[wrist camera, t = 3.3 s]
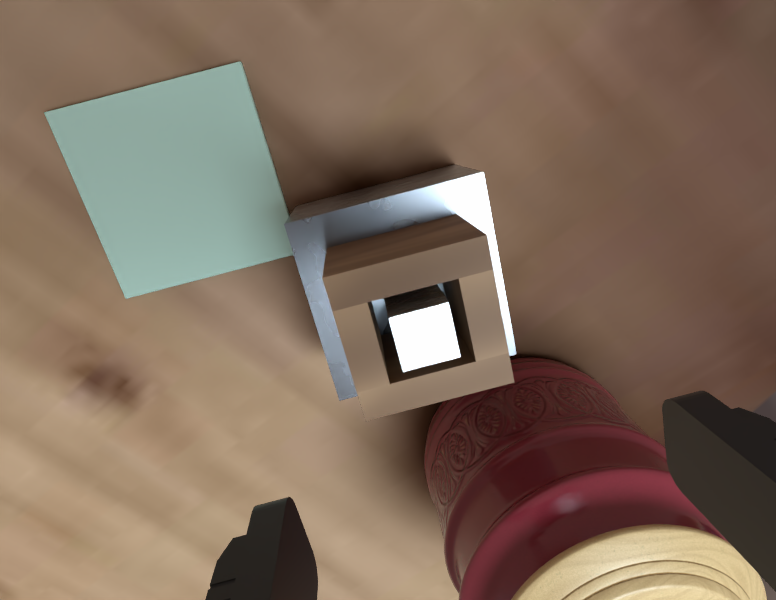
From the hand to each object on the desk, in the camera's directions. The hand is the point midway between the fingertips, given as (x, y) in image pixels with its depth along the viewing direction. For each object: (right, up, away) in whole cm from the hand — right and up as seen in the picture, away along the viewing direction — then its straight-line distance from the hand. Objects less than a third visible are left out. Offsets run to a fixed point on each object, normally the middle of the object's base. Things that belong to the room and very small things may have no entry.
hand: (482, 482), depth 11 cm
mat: (-13, +10, +16) cm, 23 cm away
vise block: (-2, +6, +19) cm, 20 cm away
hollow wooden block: (-1, +4, +13) cm, 14 cm away
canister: (+7, -5, +23) cm, 25 cm away
